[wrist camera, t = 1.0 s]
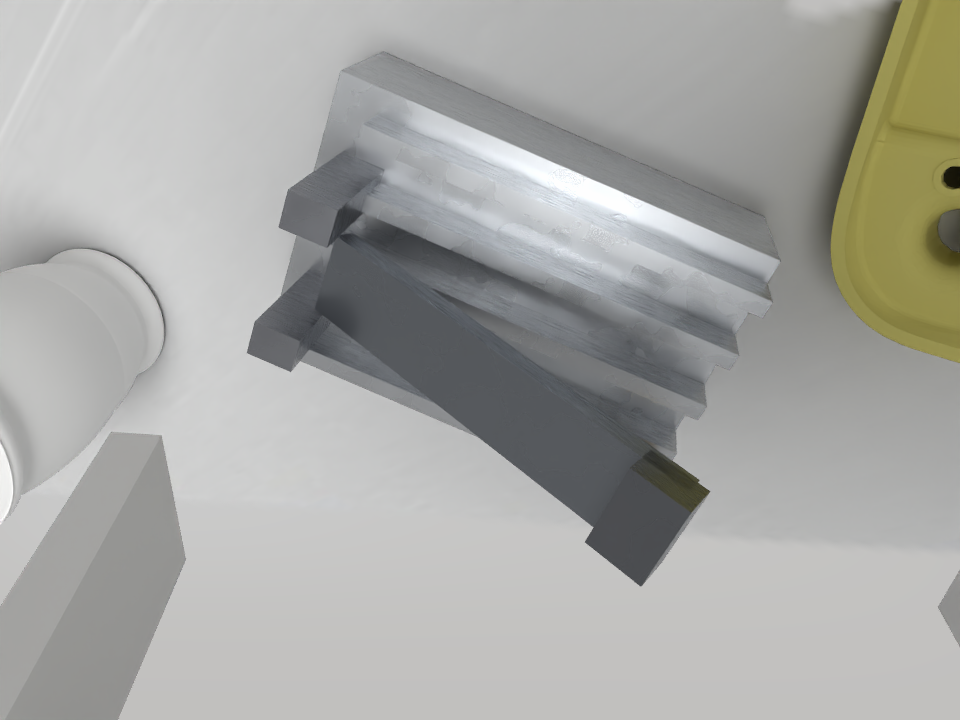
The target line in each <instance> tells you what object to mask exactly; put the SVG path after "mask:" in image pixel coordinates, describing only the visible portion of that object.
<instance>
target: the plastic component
mask: <svg viewBox="0 0 960 720" xmlns="http://www.w3.org/2000/svg"><path fill="white" fill-rule="evenodd" d="M951 166H960V0H902V2H901V5H900V8H899V11H898V14H897V17H896V21H895V24H894V27H893V30H892V33H891V36H890V39H889V42H888V45H887V48H886V51H885V54H884V57H883V60H882V63H881V66H880V69H879V72H878V75H877V78H876V81H875V84H874V87H873V90H872V93H871V96H870V99H869V102H868V105H867V108H866V112H865V115H864V118H863V121H862V124H861V127H860V130H859V133H858V136H857V139H856V142H855V145H854V148H853V151H852V154H851V157H850V161H849V164H848V167H847V171H846V174H845V177H844V181H843V184H842V187H841V190H840V194H839V198H838V202H837V206H836V211H835V215H834V221H833V227H832V233H831V261H832V268H833V272H834V276H835V280H836V283H837V285H838V287H839V289H840V292H841V294H842V296H843V297H844V299H845V300H846V302H847V303H848V305H849V306H850V308H851V309H852V310H853V311H854V312H855V314H856V315H857V316H858V317H859V318H860V319H861V320H862V321H863V322H865V323H866V324H867V325H868V326H869V327H870V328H872V329H873V330H875V331H876V332H878V333H880V334H881V335H883V336H884V337H886V338H889V339H891V340H893V341H895V342H897V343H899V344H901V345H904V346H907V347H910V348H912V349H916V350H919V351H922V352H925V353H928V354H931V355H935V356H938V357H941V358H945V359H948V360H951V361H955V362H958V363H960V253H959V252H955V251H952V250H950V249H949V248H948V247H947V246H945V245H944V244H943V243H942V242H941V239H940V237H939V235H938V223H939V220H940V217H941V215H942V214H943V213H945V212H947V211H950V210H955V209H960V187H959V188H953V187H949V186H947V185H946V183H945V182H944V173H945V171H946V170H947V168H949V167H951Z"/></svg>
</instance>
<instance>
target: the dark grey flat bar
mask: <svg viewBox="0 0 960 720" xmlns="http://www.w3.org/2000/svg"><path fill="white" fill-rule="evenodd" d="M315 310H317V311H318V312H319V313H320V314H322V315H323V316H324V317H325V318H327V319H328V320H329V321H331V322H332V323H333V324H334V325H336V326H337V327H338V328H340V329H341V330H342V331H343V332H345V333H346V334H347V335H348V336H350V337H351V338H352V339H354V340H355V341H356V342H357V343H359V344H360V345H361V346H363V347H364V348H365V349H366V350H368V351H369V352H370V353H372V354H373V355H374V356H375V357H377V358H378V359H379V360H380V361H382V362H383V363H384V364H386V365H387V366H388V367H389V368H391V369H392V370H393V371H395V372H396V373H397V374H398V375H400V376H401V377H402V378H403V379H405V380H406V381H407V382H409V383H410V384H411V385H412V386H414V387H415V388H416V389H418V390H419V391H420V392H421V393H423V394H424V395H425V396H427V397H428V398H429V399H430V400H432V401H433V402H434V403H435V404H437V405H438V406H439V407H441V408H442V409H443V410H444V411H446V412H447V413H448V414H450V415H451V416H452V417H453V418H455V419H456V420H457V421H458V422H460V423H461V424H462V425H464V426H465V427H466V428H467V429H469V430H470V431H471V432H473V433H474V434H475V435H476V436H478V437H479V438H480V439H481V440H483V441H484V442H485V443H487V444H488V445H489V446H490V447H492V448H493V449H494V450H496V451H497V452H498V453H499V454H501V455H502V456H503V457H505V458H506V459H507V460H508V461H510V462H511V463H512V464H513V465H515V466H516V467H517V468H519V469H520V470H521V471H522V472H524V473H525V474H526V475H528V476H529V477H530V478H531V479H533V480H534V481H535V482H536V483H538V484H539V485H540V486H542V487H543V488H544V489H545V490H547V491H548V492H549V493H551V494H552V495H553V496H554V497H556V498H557V499H558V500H559V501H561V502H562V503H563V504H565V505H566V506H567V507H568V508H570V509H571V510H572V511H574V512H575V513H576V514H577V515H579V516H580V517H581V518H583V519H584V520H585V521H586V522H588V523H589V524H590V525H591V526H593V527H594V528H593V529H592V531H591V533H590V534H589V536H588V538H587V540H586V541H585V543H587V544H588V545H589V546H590V547H592V548H593V549H594V550H595V551H597V552H598V553H599V554H600V555H602V556H603V557H604V558H606V559H607V560H608V561H609V562H611V563H612V564H613V565H614V566H616V567H617V568H618V569H619V570H621V571H622V572H623V573H624V574H626V575H627V576H628V577H630V578H631V579H632V580H634V582H636V583H637V584H638V585H639V586H642V585H643V584H644V583H645V581H646V580H647V579H648V578H649V577H650V575H651V574H652V573H653V572H654V571H655V570H656V569H657V567H658V566H659V565H660V564H661V563H662V561H663V560H664V558H665V557H666V555H667V554H668V552H669V551H670V549H671V548H672V546H673V545H674V543H675V542H676V541H677V539H678V538H679V536H680V535H681V533H682V532H683V531H684V529H685V528H686V526H687V525H688V523H689V522H690V520H691V519H692V517H693V516H694V514H695V513H696V512H697V510H698V509H699V507H700V506H701V504H702V503H703V501H704V500H705V498H706V497H707V496H708V494H709V493H710V491H709V490H707V489H706V488H705V487H703V486H702V485H700V484H699V483H698V482H699V481H700V480H699V479H697V478H696V477H694V476H693V475H692V474H690V473H689V472H687V471H686V470H685V469H683V468H682V467H680V466H679V465H678V464H676V463H675V462H673V461H672V460H671V459H669V458H668V457H666V456H665V455H664V454H662V453H661V452H659V451H658V450H657V449H655V448H654V447H652V446H651V445H649V444H648V443H647V442H645V441H644V440H642V439H641V438H640V437H638V436H637V435H635V434H634V433H633V432H631V431H630V430H628V429H627V428H626V427H624V426H623V425H621V424H620V423H619V422H617V421H616V420H614V419H613V418H612V417H610V416H609V415H607V414H606V413H605V412H603V411H602V410H600V409H599V408H598V407H596V406H595V405H593V404H592V403H591V402H589V401H588V400H586V399H585V398H584V397H582V396H581V395H579V394H578V393H577V392H575V391H574V390H572V389H571V388H570V387H568V386H567V385H565V384H564V383H563V382H561V381H560V380H558V379H557V378H556V377H554V376H553V375H551V374H550V373H549V372H547V371H546V370H544V369H543V368H542V367H540V366H539V365H537V364H536V363H535V362H533V361H532V360H530V359H529V358H528V357H526V356H525V355H523V354H522V353H521V352H519V351H518V350H516V349H515V348H514V347H512V346H511V345H509V344H508V343H507V342H505V341H504V340H502V339H501V338H500V337H498V336H497V335H495V334H494V333H493V332H491V331H490V330H488V329H487V328H486V327H484V326H483V325H481V324H480V323H479V322H477V321H476V320H474V319H473V318H472V317H470V316H469V315H467V314H466V313H465V312H463V311H462V310H460V309H459V308H458V307H456V306H455V305H453V304H452V303H451V302H449V301H448V300H446V299H445V298H444V297H442V296H441V295H439V294H438V293H437V292H435V291H434V290H432V289H431V288H430V287H428V286H427V285H425V284H424V283H423V282H421V281H420V280H418V279H417V278H416V277H414V276H413V275H411V274H410V273H409V272H407V271H406V270H404V269H403V268H402V267H400V266H399V265H397V264H396V263H395V262H393V261H392V260H390V259H389V258H388V257H386V256H385V255H383V254H382V253H381V252H379V251H378V250H376V249H375V248H374V247H372V246H371V245H369V244H368V243H367V242H365V241H364V240H362V239H361V238H360V237H358V236H357V235H355V234H354V233H349V234H343V235H340V236H339V237H338V238H337V239H336V240H335V241H334V244H333V248H332V251H331V255H330V258H329V261H328V265H327V268H326V272H325V275H324V278H323V282H322V285H321V289H320V292H319V295H318V299H317V302H316V306H315Z"/></svg>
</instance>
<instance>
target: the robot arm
mask: <svg viewBox="0 0 960 720" xmlns="http://www.w3.org/2000/svg"><path fill="white" fill-rule="evenodd" d="M185 560H186V558H185V553H184V547H183V542H182V538H181V532H180V527H179V522H178V517H177V512H176V507H175V502H174V497H173V492H172V486H171V481H170V476H169V471H168V466H167V461H166V456H165V451H164V446H163V441H162V436H161V435H148V434H133V433H118V432H111V433H110V434H109V436H108V438H107V439H106V441H105V442H104V444H103V445H102V447H101V449H100V450H99V452H98V453H97V455H96V457H95V458H94V460H93V461H92V463H91V464H90V466H89V468H88V469H87V471H86V472H85V474H84V475H83V477H82V479H81V480H80V482H79V483H78V485H77V486H76V488H75V490H74V491H73V493H72V494H71V496H70V497H69V499H68V501H67V502H66V504H65V505H64V507H63V508H62V510H61V512H60V513H59V515H58V516H57V518H56V520H55V521H54V523H53V524H52V526H51V527H50V529H49V530H48V532H47V534H46V535H45V537H44V538H43V540H42V542H41V543H40V545H39V546H38V548H37V549H36V551H35V553H34V554H33V556H32V557H31V559H30V561H29V562H28V564H27V565H26V567H25V568H24V570H23V571H22V573H21V575H20V576H19V578H18V579H17V581H16V582H15V584H14V586H13V587H12V589H11V590H10V592H9V593H8V595H7V597H6V598H5V600H4V601H3V603H2V604H1V606H0V720H118V718H119V715H120V713H121V711H122V709H123V706H124V704H125V701H126V699H127V697H128V695H129V692H130V690H131V687H132V685H133V683H134V680H135V678H136V676H137V673H138V671H139V669H140V666H141V664H142V662H143V659H144V657H145V654H146V652H147V650H148V647H149V645H150V643H151V640H152V638H153V636H154V633H155V631H156V629H157V626H158V624H159V621H160V619H161V617H162V615H163V612H164V610H165V607H166V605H167V603H168V600H169V598H170V595H171V593H172V591H173V589H174V586H175V584H176V582H177V579H178V577H179V575H180V572H181V570H182V567H183V565H184V563H185ZM938 608H939V610H940V612H941V614H942V615H943V617H944V619H945V621H946V622H947V624H948V626H949V628H950V630H951V632H952V633H953V635H954V637H955V639H956V641H957V642H958V644H959V646H960V571H959V572H958V574H957V576H956V577H955V579H954V581H953V582H952V584H951V586H950V588H949V589H948V591H947V593H946V594H945V596H944V598H943V599H942V601H941V603H940V605H939V606H938Z"/></svg>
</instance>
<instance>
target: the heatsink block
mask: <svg viewBox="0 0 960 720" xmlns="http://www.w3.org/2000/svg"><path fill="white" fill-rule="evenodd" d="M279 228H281V229H283V230H286V231H288V232H290V233H293V234H295V235H297V236H296V240H295V244H294V248H293V251H292V255H291V259H290V263H289V266H288V270H287V274H286V278H285V281H284V285H283V289H282V293H281V296H280V298H279V299H278V300H277V301H276V302H275V303H274V304H273V305H272V306H270V307H269V308H268V309H267V310H266V311H265V312H264V313H263V314H262V315H261V316H260V317H259V318H258V319H257V320H256V321H255V323H254V327H253V331H252V335H251V339H250V343H249V347H248V351H247V353H248V354H250V355H253V356H255V357H257V358H260V359H262V360H264V361H267V362H269V363H271V364H274V365H276V366H278V367H281V368H283V369H285V370H288V371H290V372H291V371H292V370H293V369H294V368H295V366H296V365H297V364H298V363H299V362H300V361H302V362H304V363H307V364H309V365H311V366H314V367H316V368H318V369H321V370H323V371H325V372H328V373H330V374H332V375H335V376H337V377H339V378H342V379H344V380H346V381H348V382H351V383H353V384H355V385H358V386H360V387H362V388H365V389H367V390H369V391H372V392H374V393H376V394H379V395H381V396H383V397H386V398H388V399H390V400H393V401H395V402H397V403H400V404H402V405H404V406H407V407H409V408H411V409H414V410H416V411H418V412H421V413H423V414H425V415H428V416H430V417H432V418H435V419H437V420H439V421H442V422H444V423H446V424H449V425H451V426H453V427H456V428H458V429H460V430H463V431H465V432H467V433H470V434H472V435H474V436H476V435H475V434H474V433H473V432H471V431H470V430H469V429H467V428H466V427H465V426H464V425H462V424H461V423H460V422H458V421H457V420H456V419H455V418H453V417H452V416H451V415H450V414H448V413H447V412H446V411H444V410H443V409H442V408H441V407H439V406H438V405H437V404H435V403H434V402H433V401H432V400H430V399H429V398H428V397H427V396H425V395H424V394H423V393H421V392H420V391H419V390H418V389H416V388H415V387H414V386H412V385H411V384H410V383H409V382H407V381H406V380H405V379H403V378H402V377H401V376H400V375H398V374H397V373H396V372H395V371H393V370H392V369H391V368H389V367H388V366H387V365H386V364H384V363H383V362H382V361H380V360H379V359H378V358H377V357H375V356H374V355H373V354H372V353H370V352H369V351H368V350H366V349H365V348H364V347H363V346H361V345H360V344H359V343H357V342H356V341H355V340H354V339H352V338H351V337H350V336H348V335H347V334H346V333H345V332H343V331H342V330H341V329H340V328H338V327H337V326H336V325H334V324H333V323H332V322H331V321H329V320H328V319H327V318H325V317H324V316H323V315H322V314H320V313H319V312H318V311H317V310H315V306H316V302H317V299H318V295H319V292H320V289H321V285H322V282H323V278H324V275H325V272H326V268H327V265H328V261H329V258H330V255H331V251H332V248H333V244H334V241H335V240H336V239H337V238H338V237H339V236H340V235H343V234H349V233H354V234H355V235H357V236H358V237H360V238H361V239H362V240H364V241H365V242H367V243H368V244H369V245H371V246H372V247H374V248H375V249H376V250H378V251H379V252H381V253H382V254H383V255H385V256H386V257H388V258H389V259H390V260H392V261H393V262H395V263H396V264H397V265H399V266H400V267H402V268H403V269H404V270H406V271H407V272H409V273H410V274H411V275H413V276H414V277H416V278H417V279H418V280H420V281H421V282H423V283H424V284H425V285H427V286H428V287H430V288H431V289H432V290H434V291H435V292H437V293H438V294H439V295H441V296H442V297H444V298H445V299H446V300H448V301H449V302H451V303H452V304H453V305H455V306H456V307H458V308H459V309H460V310H462V311H463V312H465V313H466V314H467V315H469V316H470V317H472V318H473V319H474V320H476V321H477V322H479V323H480V324H481V325H483V326H484V327H486V328H487V329H488V330H490V331H491V332H493V333H494V334H495V335H497V336H498V337H500V338H501V339H502V340H504V341H505V342H507V343H508V344H509V345H511V346H512V347H514V348H515V349H516V350H518V351H519V352H521V353H522V354H523V355H525V356H526V357H528V358H529V359H530V360H532V361H533V362H535V363H536V364H537V365H539V366H540V367H542V368H543V369H544V370H546V371H547V372H549V373H550V374H551V375H553V376H554V377H556V378H557V379H558V380H560V381H561V382H563V383H564V384H565V385H567V386H568V387H570V388H571V389H572V390H574V391H575V392H577V393H578V394H579V395H581V396H582V397H584V398H585V399H586V400H588V401H589V402H591V403H592V404H593V405H595V406H596V407H598V408H599V409H600V410H602V411H603V412H605V413H606V414H607V415H609V416H610V417H612V418H613V419H614V420H616V421H617V422H619V423H620V424H621V425H623V426H624V427H626V428H627V429H628V430H630V431H631V432H633V433H634V434H635V435H637V436H638V437H640V438H641V439H642V440H644V441H645V442H647V443H648V444H649V445H651V446H652V447H654V448H655V449H657V450H658V451H659V452H661V453H662V454H664V455H665V456H666V457H668V458H669V459H671V460H673V459H674V457H675V455H676V454H677V448H676V429H677V427H678V426H679V424H680V422H681V421H682V419H683V418H684V416H685V415H687V416H689V417H692V418H694V419H696V420H698V419H699V418H700V416H701V414H702V413H703V411H704V410H705V408H706V407H707V405H706V395H705V386H704V384H705V382H706V381H707V379H708V377H709V376H710V374H711V373H712V371H713V369H714V368H715V366H716V365H718V366H721V367H723V368H725V369H728V370H730V369H731V367H732V366H733V364H734V363H735V361H736V359H737V358H738V356H739V352H738V347H737V342H736V337H735V334H736V332H737V331H738V329H739V328H740V326H741V324H742V323H743V321H744V320H745V318H746V316H747V315H748V313H752V314H754V315H756V316H759V317H761V318H763V317H764V315H765V314H766V312H767V311H768V309H769V308H770V306H771V304H772V303H773V300H772V297H771V294H770V291H769V288H768V284H767V283H768V281H769V279H770V278H771V276H772V275H773V273H774V271H775V270H776V268H777V267H778V265H779V263H780V262H781V260H780V257H779V255H778V252H777V249H776V247H775V244H774V241H773V238H772V236H771V233H770V230H769V228H768V225H767V222H766V220H765V217H764V216H761V215H759V214H757V213H754V212H752V211H750V210H747V209H745V208H743V207H741V206H738V205H736V204H734V203H731V202H729V201H727V200H724V199H722V198H720V197H717V196H715V195H713V194H710V193H708V192H706V191H704V190H701V189H699V188H697V187H694V186H692V185H690V184H687V183H685V182H683V181H680V180H678V179H676V178H674V177H671V176H669V175H667V174H664V173H662V172H660V171H657V170H655V169H653V168H650V167H648V166H646V165H643V164H641V163H639V162H637V161H634V160H632V159H630V158H627V157H625V156H623V155H620V154H618V153H616V152H613V151H611V150H609V149H607V148H604V147H602V146H600V145H597V144H595V143H593V142H590V141H588V140H586V139H583V138H581V137H579V136H577V135H574V134H572V133H570V132H567V131H565V130H563V129H560V128H558V127H556V126H553V125H551V124H549V123H546V122H544V121H542V120H540V119H537V118H535V117H533V116H530V115H528V114H526V113H523V112H521V111H519V110H516V109H514V108H512V107H510V106H507V105H505V104H503V103H500V102H498V101H496V100H493V99H491V98H489V97H486V96H484V95H482V94H480V93H477V92H475V91H473V90H470V89H468V88H466V87H463V86H461V85H459V84H456V83H454V82H452V81H449V80H447V79H445V78H443V77H440V76H438V75H436V74H433V73H431V72H429V71H426V70H424V69H422V68H419V67H417V66H415V65H413V64H410V63H408V62H406V61H403V60H401V59H399V58H396V57H394V56H392V55H389V54H387V53H385V52H382V53H379V54H377V55H375V56H373V57H370V58H368V59H366V60H364V61H361V62H359V63H357V64H355V65H352V66H350V67H348V68H346V69H343V70H341V71H340V75H339V79H338V83H337V86H336V90H335V94H334V98H333V101H332V105H331V109H330V113H329V116H328V120H327V124H326V128H325V131H324V135H323V139H322V143H321V146H320V150H319V154H318V158H317V161H316V165H315V169H314V172H313V173H311V174H310V175H308V176H307V177H305V178H304V179H303V180H301V181H300V182H298V183H297V184H295V185H294V186H293V187H291V188H290V189H288V192H287V196H286V200H285V204H284V208H283V212H282V216H281V220H280V224H279ZM477 437H478V436H477Z"/></svg>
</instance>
